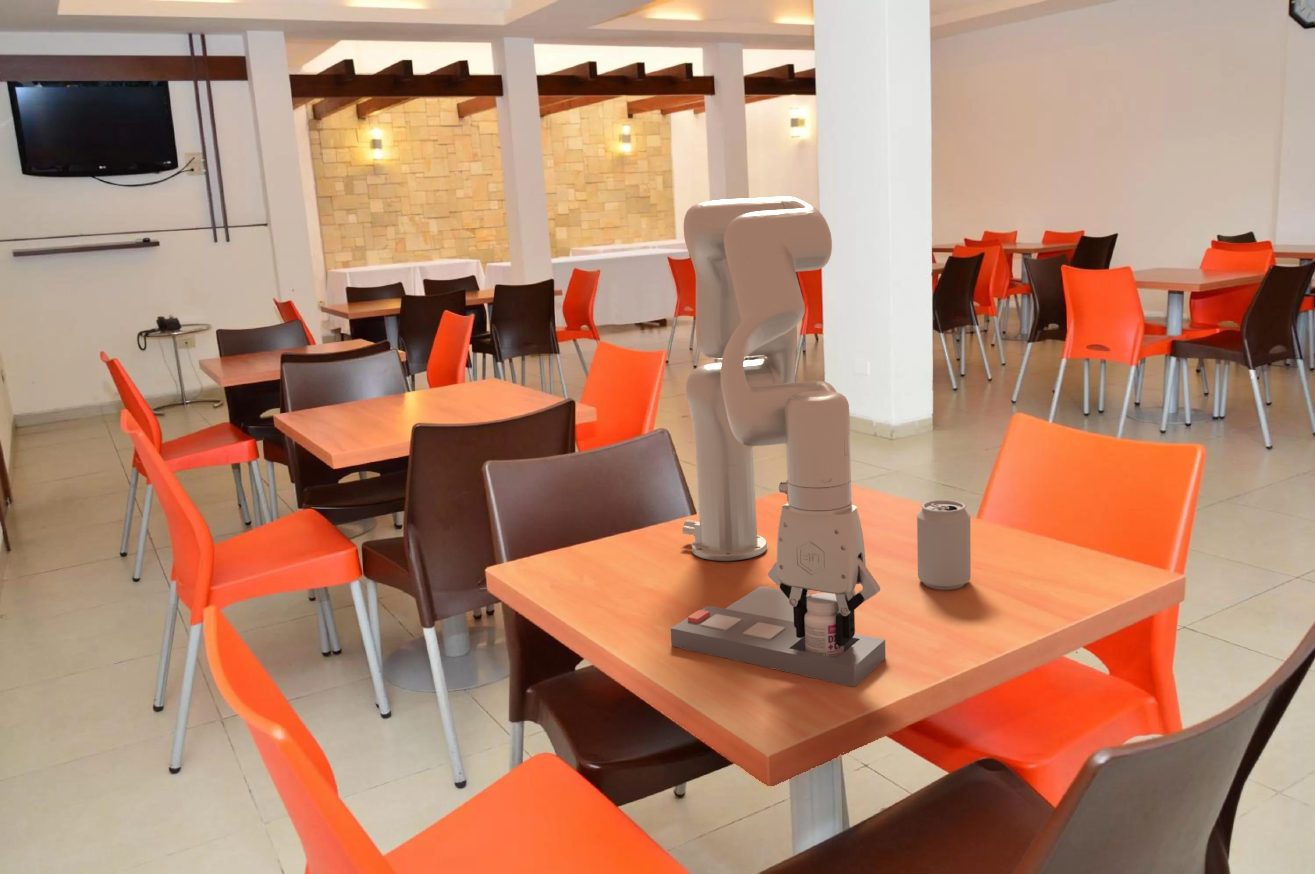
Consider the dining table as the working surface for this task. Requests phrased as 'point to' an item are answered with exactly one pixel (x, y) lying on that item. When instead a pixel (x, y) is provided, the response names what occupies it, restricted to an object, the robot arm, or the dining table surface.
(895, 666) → the dining table surface
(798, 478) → the robot arm
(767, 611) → the mat
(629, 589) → the dining table surface
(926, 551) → the can
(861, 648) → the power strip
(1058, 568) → the dining table surface
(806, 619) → the pill bottle
